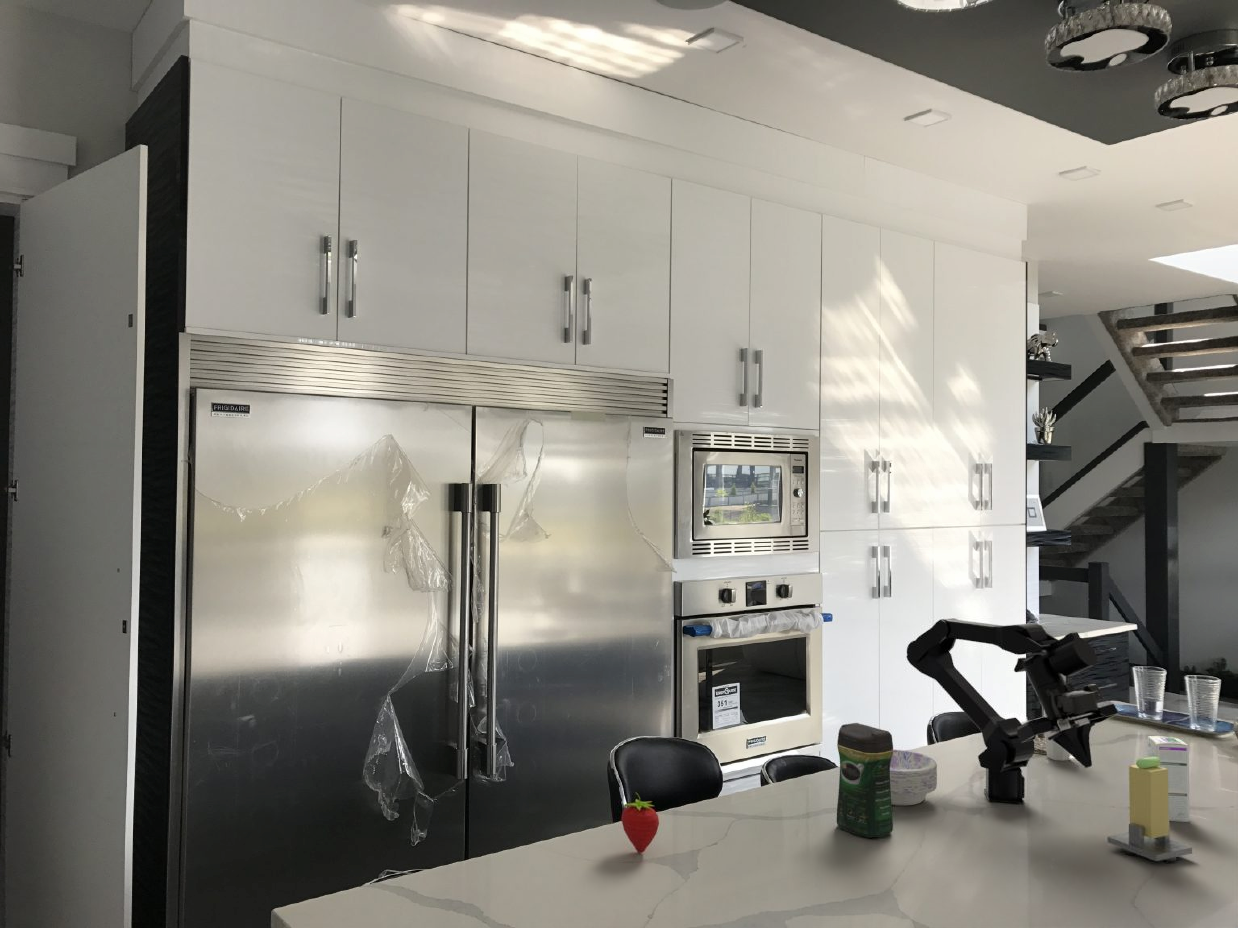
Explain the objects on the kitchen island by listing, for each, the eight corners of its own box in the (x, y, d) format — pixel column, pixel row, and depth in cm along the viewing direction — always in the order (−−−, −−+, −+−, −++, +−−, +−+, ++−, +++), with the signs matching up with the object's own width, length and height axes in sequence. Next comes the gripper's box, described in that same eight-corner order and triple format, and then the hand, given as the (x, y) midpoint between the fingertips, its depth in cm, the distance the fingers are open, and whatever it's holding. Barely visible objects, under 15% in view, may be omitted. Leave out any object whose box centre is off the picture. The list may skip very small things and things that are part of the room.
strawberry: (633, 863, 154) (634, 801, 154) (613, 847, 160) (615, 787, 161) (666, 858, 156) (667, 796, 156) (645, 842, 163) (646, 783, 163)
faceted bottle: (1078, 761, 218) (1078, 665, 218) (1050, 761, 218) (1050, 664, 218) (1065, 754, 224) (1066, 660, 225) (1038, 753, 224) (1038, 659, 225)
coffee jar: (900, 834, 169) (901, 728, 170) (870, 842, 165) (871, 734, 165) (858, 818, 177) (860, 717, 178) (828, 825, 173) (830, 722, 173)
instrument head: (1129, 830, 163) (1128, 756, 164) (1147, 827, 165) (1146, 753, 165) (1151, 838, 159) (1150, 762, 160) (1169, 834, 161) (1167, 759, 162)
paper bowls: (851, 804, 185) (852, 763, 185) (862, 782, 199) (862, 744, 199) (934, 816, 179) (934, 773, 179) (939, 792, 193) (939, 753, 193)
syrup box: (1190, 822, 178) (1191, 744, 178) (1156, 819, 179) (1156, 742, 180) (1179, 812, 184) (1179, 736, 184) (1146, 809, 185) (1146, 734, 185)
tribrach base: (1107, 848, 164) (1107, 817, 164) (1142, 840, 168) (1142, 811, 168) (1156, 867, 156) (1156, 835, 156) (1192, 859, 160) (1192, 827, 160)
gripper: (1029, 682, 174) (1069, 768, 166) (1114, 661, 178) (1157, 744, 171) (1000, 700, 183) (1037, 782, 176) (1081, 680, 188) (1121, 759, 180)
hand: (1088, 766), depth 175 cm, fingers closed
